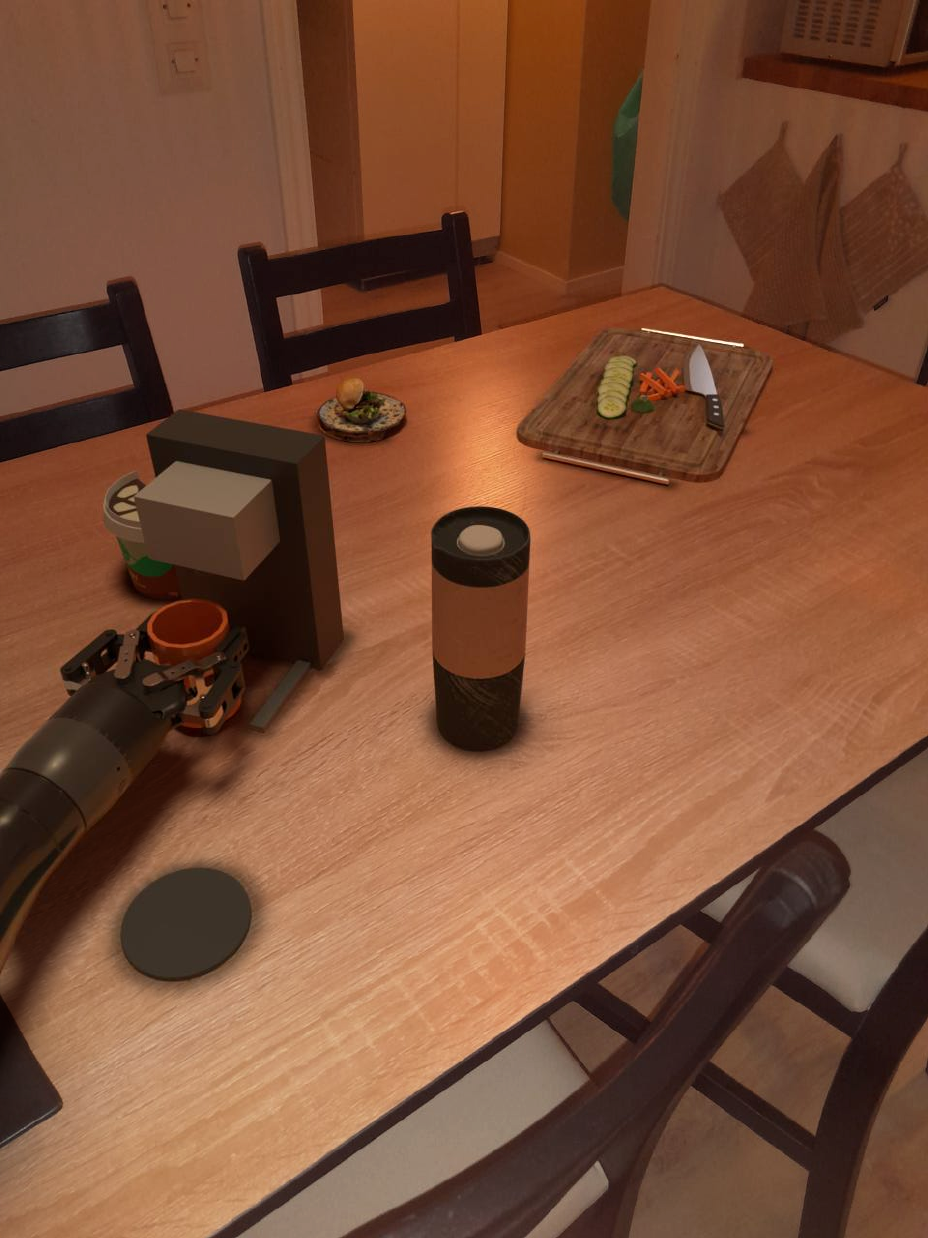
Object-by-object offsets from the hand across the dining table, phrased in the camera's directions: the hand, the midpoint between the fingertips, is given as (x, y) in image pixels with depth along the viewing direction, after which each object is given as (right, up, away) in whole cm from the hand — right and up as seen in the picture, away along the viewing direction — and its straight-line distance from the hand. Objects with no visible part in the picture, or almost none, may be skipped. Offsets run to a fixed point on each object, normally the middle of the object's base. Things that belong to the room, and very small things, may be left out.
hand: (205, 624), depth 82 cm
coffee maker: (+1, -4, +8) cm, 9 cm away
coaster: (+2, -21, -13) cm, 25 cm away
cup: (-1, -7, +3) cm, 7 cm away
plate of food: (+8, +27, +47) cm, 55 cm away
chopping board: (+48, +31, +53) cm, 78 cm away
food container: (-10, +4, +18) cm, 21 cm away
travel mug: (+23, -9, +3) cm, 25 cm away
